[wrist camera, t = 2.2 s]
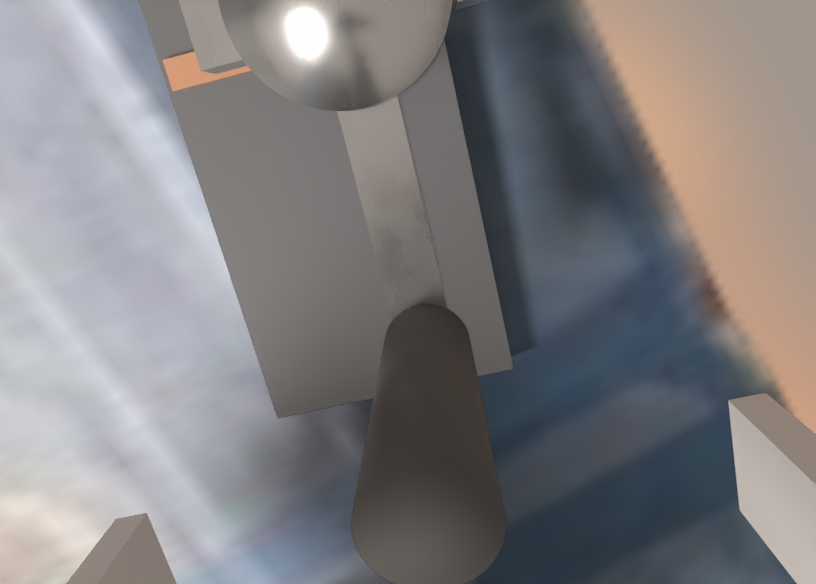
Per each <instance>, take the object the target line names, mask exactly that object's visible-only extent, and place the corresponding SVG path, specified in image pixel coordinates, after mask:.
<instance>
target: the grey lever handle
mask: <svg viewBox="0 0 816 584" xmlns="http://www.w3.org/2000/svg"><path fill="white" fill-rule="evenodd" d="M453 1H454V6H455V10H457V9H461V8H465V7H469V6H472V5H476V4H480V3H484V2H487V1H491V0H179V3H180V7H181V10H182V13H183V16H184V19H185V22H186V26H187V29H188V32H189V35H190V38H191V41H192V44H193V48H194V51H195V54H196V57H197V60H198V63H199V67H200V70H201V71H203V72H208V73H213V74H218V73H222V72H226V71H230V70H233V69H237V68H241V67H245V66H248V67H249V68H250V69H251V70H252V72H253V73H254V74H255V75H256V76H257V77H258V78H259V79H260V80H262V81H263V82H264V83H265V84H266V85H267V86H269V87H270V88H271V89H273V90H274V91H276V92H277V93H278V94H280V95H282V96H284V97H286V98H288V99H290V100H291V101H294V102H296V103H299V104H302V105H304V106H307V107H311V108H316V109H320V110H330V111H337V113H338V117H339V120H340V124H341V128H342V132H343V136H344V139H345V143H346V147H347V151H348V155H349V158H350V162H351V166H352V170H353V174H354V177H355V181H356V185H357V189H358V193H359V196H360V200H361V204H362V208H363V212H364V215H365V219H366V223H367V227H368V231H369V234H370V238H371V242H372V246H373V250H374V253H375V257H376V261H377V265H378V269H379V272H380V276H381V280H382V284H383V288H384V291H385V295H386V299H387V303H388V307H389V310H390V314H391V318H392V322H391V323H390V325H389V327H388V329H387V332H386V335H385V339H384V345H383V350H382V355H381V361H380V366H379V372H378V377H377V382H376V388H375V393H374V399H373V404H372V409H371V415H370V420H369V425H368V431H367V436H366V442H365V447H364V452H363V458H362V463H361V469H360V474H359V479H358V485H357V490H356V495H355V501H354V506H353V512H352V519H351V529H352V536H353V540H354V543H355V546H356V548H357V550H358V552H359V554H360V556H361V557H362V559H363V560H364V561H365V562H366V564H367V565H368V566H369V567H370V568H371V569H372V570H373V571H374V572H376V573H377V574H378V575H380V576H381V577H383V578H384V579H386V580H388V581H390V582H392V583H394V584H465V583H467V582H469V581H471V580H473V579H475V578H476V577H478V576H479V575H481V574H482V573H483V572H484V571H485V570H487V569H488V567H489V566H490V565H491V564H492V563H493V562H494V560H495V559H496V557H497V556H498V554H499V552H500V550H501V548H502V546H503V543H504V540H505V534H506V517H505V511H504V506H503V501H502V496H501V491H500V486H499V481H498V476H497V471H496V466H495V461H494V456H493V451H492V446H491V441H490V436H489V431H488V426H487V421H486V416H485V411H484V406H483V401H482V396H481V391H480V386H479V381H478V376H477V371H476V366H475V361H474V356H473V351H472V346H471V341H470V336H469V333H468V330H467V328H466V326H465V324H464V323H463V321H462V320H461V319H460V318H459V317H458V316H457V315H456V314H455V313H454V312H452V311H451V310H449V307H448V303H447V299H446V295H445V290H444V286H443V282H442V278H441V273H440V269H439V265H438V261H437V256H436V252H435V248H434V244H433V239H432V235H431V231H430V227H429V222H428V218H427V214H426V210H425V205H424V201H423V197H422V193H421V188H420V184H419V180H418V176H417V171H416V167H415V163H414V158H413V154H412V150H411V146H410V141H409V137H408V133H407V129H406V124H405V120H404V116H403V112H402V107H401V103H400V98H401V97H403V96H404V95H406V94H407V93H409V92H410V91H411V90H412V89H413V88H414V87H415V86H417V85H418V84H419V82H420V81H421V80H422V79H423V78H424V77H425V76H426V74H427V73H428V72H429V70H430V69H431V67H432V66H433V64H434V62H435V60H436V58H437V56H438V54H439V52H440V50H441V47H442V45H443V42H444V39H445V35H446V31H447V27H448V23H449V18H450V14H451V9H452V3H453Z"/></svg>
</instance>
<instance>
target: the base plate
mask: <svg viewBox="0 0 816 584" xmlns="http://www.w3.org/2000/svg"><path fill="white" fill-rule="evenodd" d="M139 3H140V6H141V9H142V12H143V15H144V18H145V21H146V24H147V27H148V30H149V33H150V36H151V39H152V42H153V45H154V48H155V51H156V54H157V57H158V60H159V63H160V66H161V69H162V72H163V76H164V79H165V82H166V85H167V88H168V91H169V94H170V97H171V100H172V103H173V106H174V109H175V112H176V115H177V118H178V121H179V124H180V127H181V130H182V133H183V136H184V139H185V142H186V145H187V148H188V151H189V154H190V157H191V160H192V163H193V166H194V169H195V172H196V175H197V178H198V181H199V184H200V187H201V190H202V193H203V196H204V199H205V202H206V205H207V208H208V211H209V214H210V217H211V220H212V223H213V226H214V229H215V232H216V235H217V238H218V241H219V244H220V247H221V250H222V253H223V256H224V259H225V262H226V265H227V268H228V271H229V274H230V277H231V280H232V283H233V286H234V289H235V292H236V295H237V298H238V301H239V304H240V307H241V310H242V313H243V316H244V319H245V322H246V325H247V328H248V331H249V334H250V337H251V340H252V343H253V346H254V349H255V352H256V355H257V358H258V361H259V364H260V367H261V370H262V373H263V376H264V379H265V382H266V385H267V388H268V391H269V394H270V397H271V400H272V403H273V406H274V409H275V412H276V415H277V418H282V417H287V416H291V415H296V414H301V413H306V412H310V411H315V410H320V409H325V408H329V407H334V406H339V405H344V404H348V403H353V402H358V401H363V400H368V399H372V398H374V393H375V388H376V382H377V377H378V372H379V366H380V361H381V355H382V350H383V345H384V339H385V335H386V332H387V329H388V327H389V325H390V323H391V322H392V318H391V314H390V310H389V307H388V303H387V299H386V295H385V291H384V288H383V284H382V280H381V276H380V272H379V269H378V265H377V261H376V257H375V253H374V250H373V246H372V242H371V238H370V234H369V231H368V227H367V223H366V219H365V215H364V212H363V208H362V204H361V200H360V196H359V193H358V189H357V185H356V181H355V177H354V174H353V170H352V166H351V162H350V158H349V155H348V151H347V147H346V143H345V139H344V136H343V132H342V128H341V124H340V120H339V117H338V113H337V111H330V110H320V109H316V108H311V107H307V106H304V105H302V104H299V103H296V102H294V101H291V100H290V99H288V98H286V97H284V96H282V95H280V94H278V93H277V92H276V91H274V90H273V89H271V88H270V87H269V86H267V85H266V84H265V83H264V82H263V81H262V80H260V79H259V78H258V77H257V76H256V75H255V74H254V73H253V72H252V70H251V69H250V68H249V67H248V66H245V67H241V68H237V69H233V70H230V71H226V72H222V73H218V74H213V73H208V72H203V71H201V70H200V67H199V63H198V60H197V57H196V54H195V51H194V48H193V44H192V41H191V38H190V35H189V32H188V29H187V26H186V22H185V19H184V16H183V13H182V10H181V7H180V3H179V0H139ZM400 103H401V107H402V112H403V116H404V120H405V124H406V129H407V133H408V137H409V141H410V146H411V150H412V154H413V158H414V163H415V167H416V171H417V176H418V180H419V184H420V188H421V193H422V197H423V201H424V205H425V210H426V214H427V218H428V222H429V227H430V231H431V235H432V239H433V244H434V248H435V252H436V256H437V261H438V265H439V269H440V273H441V278H442V282H443V286H444V290H445V295H446V299H447V303H448V307H449V310H451V311H452V312H454V313H455V314H456V315H457V316H458V317H459V318H460V319H461V320H462V321H463V323H464V324H465V326H466V328H467V330H468V333H469V336H470V341H471V346H472V351H473V356H474V361H475V366H476V371H477V376H482V375H487V374H491V373H496V372H501V371H506V370H511V369H514V368H513V363H512V358H511V354H510V349H509V344H508V339H507V335H506V330H505V325H504V320H503V316H502V311H501V306H500V301H499V297H498V292H497V287H496V282H495V278H494V273H493V268H492V263H491V259H490V254H489V249H488V244H487V240H486V235H485V230H484V225H483V220H482V216H481V211H480V206H479V201H478V197H477V192H476V187H475V182H474V178H473V173H472V168H471V163H470V159H469V154H468V149H467V144H466V140H465V135H464V130H463V125H462V121H461V116H460V111H459V106H458V102H457V97H456V92H455V87H454V83H453V78H452V73H451V68H450V63H449V59H448V54H447V49H446V44H445V40H444V42H443V45H442V47H441V50H440V52H439V54H438V56H437V58H436V60H435V62H434V64H433V66H432V67H431V69H430V70H429V72H428V73H427V74H426V76H425V77H424V78H423V79H422V80H421V81H420V82H419V84H418V85H417V86H415V87H414V88H413V89H412V90H411V91H410V92H409V93H407V94H406V95H404V96H403V97H401V98H400Z"/></svg>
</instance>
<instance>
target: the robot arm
mask: <svg viewBox="0 0 816 584" xmlns="http://www.w3.org/2000/svg"><path fill="white" fill-rule="evenodd" d="M728 404H729V413H730V423H731V432H732V442H733V451H734V461H735V470H736V480H737V490H738V499H739V509H740V511H741V513H742V514H743V515H744V516H745V518H746V519H747V520H748V522H749V523H750V524H751V525H752V527H753V528H754V529H755V531H756V532H757V533H758V534H759V536H760V537H761V538H762V539H763V541H764V542H765V543H766V545H767V546H768V547H769V548H770V550H771V551H772V552H773V554H774V555H775V556H776V557H777V559H778V560H779V561H780V563H781V564H782V565H783V566H784V568H785V569H786V570H787V572H788V573H789V574H790V575H791V577H792V578H793V579H794V581H795V582H796V583H797V584H816V434H815V433H813V432H812V431H811V430H810V429H809V428H807V427H806V426H805V425H804V424H803V423H801V422H800V421H799V420H798V419H797V418H795V417H794V416H793V415H792V414H791V413H789V412H788V411H787V410H786V409H785V408H783V407H782V406H781V405H780V404H779V403H777V402H776V401H775V400H774V399H773V398H771V397H770V396H769V395H768V394H767V393H762V394H757V395H752V396H747V397H742V398H737V399H732V400H728ZM66 584H176V581H175V579H174V577H173V574H172V572H171V570H170V567H169V565H168V563H167V560H166V558H165V555H164V553H163V551H162V548H161V546H160V544H159V541H158V539H157V537H156V534H155V532H154V529H153V527H152V525H151V522H150V520H149V518H148V515H147V513H145V514H140V515H135V516H129V517H124V518H119V519H116V520H115V521H114V522H113V524H112V525H111V526H110V528H109V529H108V530H107V531H106V533H105V534H104V535H103V537H102V538H101V539H100V541H99V542H98V543H97V544H96V546H95V547H94V548H93V550H92V551H91V552H90V554H89V555H88V556H87V557H86V559H85V560H84V561H83V563H82V564H81V565H80V567H79V568H78V569H77V570H76V572H75V573H74V574H73V576H72V577H71V578H70V579H69V581H68V582H67V583H66Z"/></svg>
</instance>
